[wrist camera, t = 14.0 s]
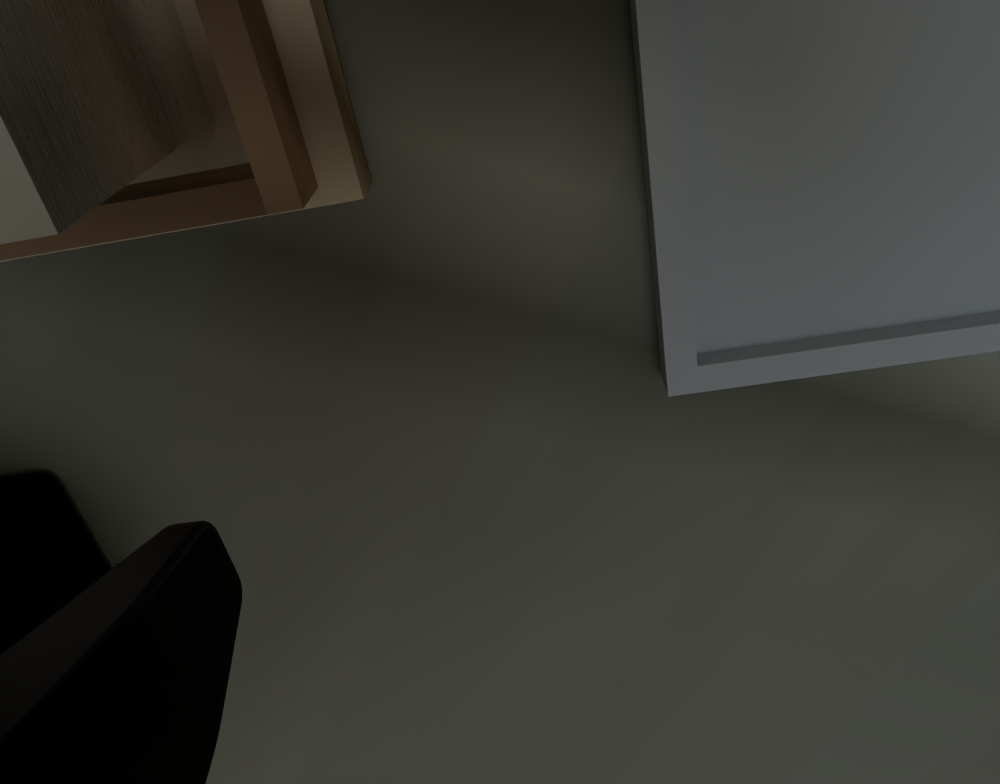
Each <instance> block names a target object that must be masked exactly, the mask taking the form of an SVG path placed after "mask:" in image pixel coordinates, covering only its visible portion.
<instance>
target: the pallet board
mask: <svg viewBox="0 0 1000 784" xmlns="http://www.w3.org/2000/svg"><path fill="white" fill-rule="evenodd" d="M173 2H174V5H175V8H176V11H177V13H178V16H179V19H180V22H181V25H182V28H183V30H184V33H185V36H186V39H187V42H188V45H189V47H190V50H191V53H192V56H193V59H194V61H195V64H196V67H197V70H198V73H199V76H200V78H201V81H202V84H203V87H204V90H205V93H206V95H207V98H208V101H209V104H210V107H211V110H212V112H213V115H214V118H215V122H214V123H212V124H211V125H209V126H208V127H207V128H205V129H204V130H202V131H201V132H200V133H198V134H197V135H196V136H194V137H193V138H191V139H190V140H189V141H187V142H186V143H184V144H183V145H182V146H180V147H179V148H177V149H176V150H175V151H173V152H172V153H171V154H169V155H168V156H166V157H165V158H164V159H162V160H161V161H159V162H158V163H157V164H155V165H154V166H152V167H151V168H150V169H148V170H147V171H145V172H144V173H143V174H141V175H140V176H139V177H137V178H136V179H134V180H133V181H132V182H130V183H129V184H127V185H126V186H125V187H123V188H122V189H120V190H119V191H118V192H116V193H115V194H114V195H112V196H111V197H109V198H108V199H107V200H105V201H104V202H102V203H101V204H100V205H98V206H97V207H95V208H94V209H93V210H91V211H90V212H88V213H87V214H86V215H84V216H83V217H82V218H80V219H79V220H77V221H76V222H75V223H73V224H72V225H70V226H69V227H68V228H66V229H65V230H63V231H62V232H61V233H59V234H57V235H51V236H45V237H40V238H34V239H28V240H23V241H17V242H11V243H5V244H0V262H3V261H8V260H14V259H20V258H26V257H32V256H37V255H43V254H49V253H55V252H61V251H66V250H72V249H78V248H84V247H90V246H95V245H101V244H107V243H113V242H119V241H124V240H130V239H136V238H142V237H148V236H153V235H159V234H165V233H171V232H176V231H182V230H188V229H194V228H200V227H205V226H211V225H217V224H223V223H229V222H234V221H240V220H246V219H252V218H258V217H263V216H269V215H275V214H281V213H287V212H292V211H298V210H304V209H310V208H316V207H321V206H327V205H333V204H339V203H345V202H350V201H356V200H362V199H364V198H365V196H366V194H367V192H368V190H369V188H370V186H371V185H372V181H371V178H370V174H369V170H368V166H367V163H366V159H365V155H364V151H363V148H362V144H361V140H360V136H359V133H358V129H357V125H356V121H355V117H354V114H353V110H352V106H351V102H350V99H349V95H348V91H347V87H346V84H345V80H344V76H343V72H342V69H341V65H340V61H339V57H338V53H337V50H336V46H335V42H334V38H333V35H332V31H331V27H330V23H329V20H328V16H327V12H326V8H325V5H324V1H323V0H173Z"/></svg>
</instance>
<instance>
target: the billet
mask: <svg viewBox="0 0 1000 784" xmlns="http://www.w3.org/2000/svg"><path fill="white" fill-rule="evenodd" d="M214 122H215V118H214V115H213V112H212V110H211V107H210V104H209V101H208V98H207V95H206V93H205V90H204V87H203V84H202V81H201V78H200V76H199V73H198V70H197V67H196V64H195V61H194V59H193V56H192V53H191V50H190V47H189V45H188V42H187V39H186V36H185V33H184V30H183V28H182V25H181V22H180V19H179V16H178V13H177V11H176V8H175V5H174V2H173V0H0V244H5V243H11V242H17V241H23V240H28V239H34V238H40V237H45V236H51V235H57V234H59V233H61V232H62V231H63V230H65V229H66V228H68V227H69V226H70V225H72V224H73V223H75V222H76V221H77V220H79V219H80V218H82V217H83V216H84V215H86V214H87V213H88V212H90V211H91V210H93V209H94V208H95V207H97V206H98V205H100V204H101V203H102V202H104V201H105V200H107V199H108V198H109V197H111V196H112V195H114V194H115V193H116V192H118V191H119V190H120V189H122V188H123V187H125V186H126V185H127V184H129V183H130V182H132V181H133V180H134V179H136V178H137V177H139V176H140V175H141V174H143V173H144V172H145V171H147V170H148V169H150V168H151V167H152V166H154V165H155V164H157V163H158V162H159V161H161V160H162V159H164V158H165V157H166V156H168V155H169V154H171V153H172V152H173V151H175V150H176V149H177V148H179V147H180V146H182V145H183V144H184V143H186V142H187V141H189V140H190V139H191V138H193V137H194V136H196V135H197V134H198V133H200V132H201V131H202V130H204V129H205V128H207V127H208V126H209V125H211V124H212V123H214Z"/></svg>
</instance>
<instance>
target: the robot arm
mask: <svg viewBox="0 0 1000 784" xmlns="http://www.w3.org/2000/svg"><path fill="white" fill-rule="evenodd" d="M37 488H38V489H40V490H42V491H43V492H41V491H39V490H38V489H37ZM241 604H242V586H241V582H240V578H239V575H238V573H237V571H236V569H235V567H234V565H233V563H232V561H231V559H230V556H229V554H228V552H227V550H226V548H225V546H224V544H223V542H222V540H221V538H220V535H219V533H218V532H217V530H216V528H215V527H214V526H213V525H212V524H211V523H209V522H206V521H196V522H188V523H180V524H174V525H170V526H168V527H166V528H164V529H163V530H161V531H160V532H159V533H158V534H156V535H155V536H154V537H152V538H151V539H150V540H149V541H147V542H146V543H145V544H143V545H142V546H141V547H139V548H138V549H137V550H136V551H134V552H133V553H132V554H130V555H129V556H128V557H127V558H125V559H124V560H123V561H121V562H120V563H119V564H117V565H116V566H115V567H114V568H112V569H111V570H110V571H109V569H108V567H107V566H106V564H105V562H104V561H103V559H102V557H101V555H100V554H99V552H98V550H97V549H96V547H95V545H94V544H93V542H92V540H91V538H90V537H89V535H88V533H87V532H86V530H85V528H84V527H83V525H82V523H81V521H80V520H79V518H78V516H77V515H76V513H75V511H74V510H73V508H72V506H71V504H70V503H69V501H68V499H67V498H66V496H65V494H64V493H63V491H62V489H61V487H60V486H59V484H58V483H57V482H56V480H55V479H53V478H52V477H50V476H49V475H46V474H43V473H32V474H25V475H17V476H10V477H3V478H0V784H205V783H206V780H207V776H208V773H209V769H210V766H211V762H212V758H213V755H214V751H215V747H216V743H217V739H218V734H219V729H220V724H221V719H222V714H223V708H224V702H225V697H226V691H227V685H228V679H229V673H230V668H231V662H232V656H233V650H234V645H235V639H236V633H237V627H238V621H239V616H240V610H241Z"/></svg>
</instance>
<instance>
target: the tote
mask: <svg viewBox="0 0 1000 784" xmlns="http://www.w3.org/2000/svg"><path fill="white" fill-rule="evenodd" d="M629 5H630V16H631V28H632V40H633V51H634V63H635V74H636V86H637V98H638V109H639V121H640V133H641V144H642V156H643V167H644V179H645V191H646V202H647V214H648V225H649V237H650V249H651V260H652V272H653V283H654V295H655V307H656V318H657V330H658V341H659V353H660V365H661V374H662V378H663V381H664V384H665V388H666V391H667V394H668V397H670V396H677V395H684V394H692V393H699V392H706V391H713V390H721V389H728V388H735V387H742V386H750V385H757V384H764V383H771V382H778V381H786V380H793V379H800V378H807V377H815V376H822V375H829V374H836V373H844V372H851V371H858V370H865V369H873V368H880V367H887V366H894V365H901V364H909V363H916V362H923V361H930V360H938V359H945V358H952V357H959V356H967V355H974V354H981V353H988V352H995V351H1000V0H629Z"/></svg>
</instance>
